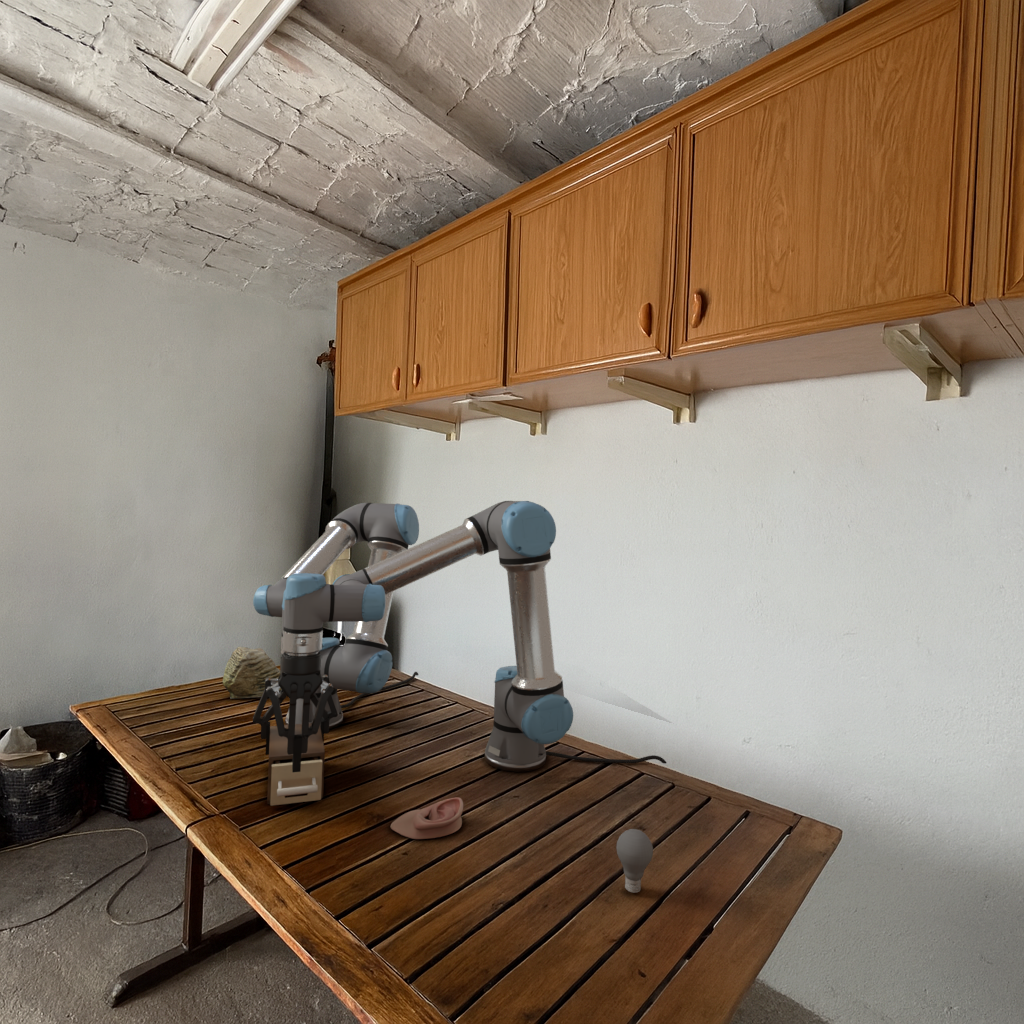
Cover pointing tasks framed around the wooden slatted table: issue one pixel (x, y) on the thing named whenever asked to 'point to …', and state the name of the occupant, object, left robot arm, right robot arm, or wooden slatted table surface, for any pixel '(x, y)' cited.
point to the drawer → (296, 781)
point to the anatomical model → (431, 820)
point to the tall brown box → (280, 753)
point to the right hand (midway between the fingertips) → (296, 769)
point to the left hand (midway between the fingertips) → (294, 749)
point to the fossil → (248, 672)
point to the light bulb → (634, 857)
